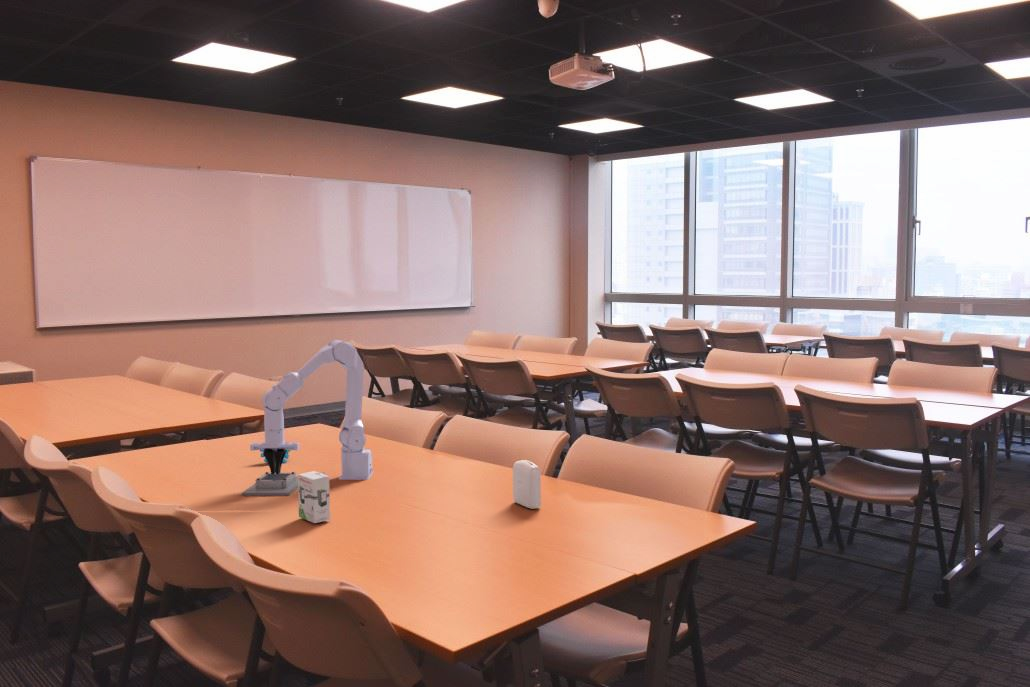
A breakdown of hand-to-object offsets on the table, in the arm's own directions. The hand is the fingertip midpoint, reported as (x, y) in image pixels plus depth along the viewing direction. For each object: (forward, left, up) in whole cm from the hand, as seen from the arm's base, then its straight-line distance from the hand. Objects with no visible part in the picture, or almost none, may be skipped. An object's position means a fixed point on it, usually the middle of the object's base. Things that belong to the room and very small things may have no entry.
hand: (275, 473), depth 251 cm
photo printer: (-77, +20, -4) cm, 80 cm away
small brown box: (-13, +2, -4) cm, 14 cm away
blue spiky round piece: (+9, -30, -5) cm, 31 cm away
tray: (0, 0, -4) cm, 4 cm away
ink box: (-21, +33, -4) cm, 39 cm away
